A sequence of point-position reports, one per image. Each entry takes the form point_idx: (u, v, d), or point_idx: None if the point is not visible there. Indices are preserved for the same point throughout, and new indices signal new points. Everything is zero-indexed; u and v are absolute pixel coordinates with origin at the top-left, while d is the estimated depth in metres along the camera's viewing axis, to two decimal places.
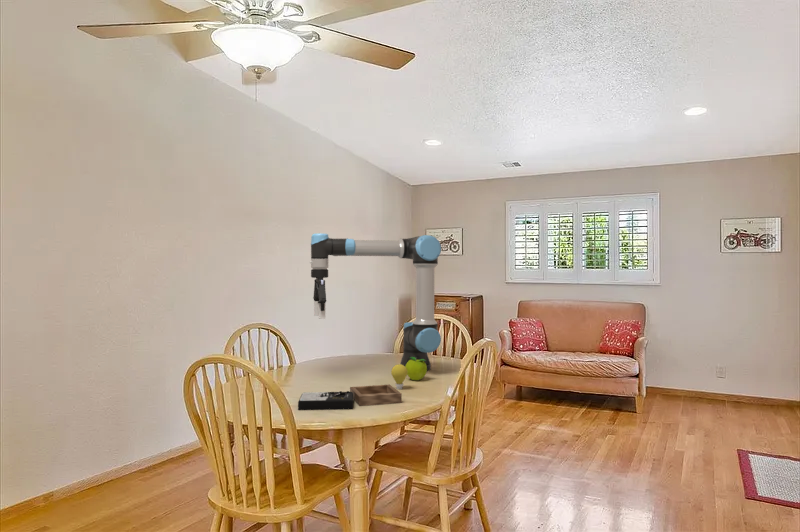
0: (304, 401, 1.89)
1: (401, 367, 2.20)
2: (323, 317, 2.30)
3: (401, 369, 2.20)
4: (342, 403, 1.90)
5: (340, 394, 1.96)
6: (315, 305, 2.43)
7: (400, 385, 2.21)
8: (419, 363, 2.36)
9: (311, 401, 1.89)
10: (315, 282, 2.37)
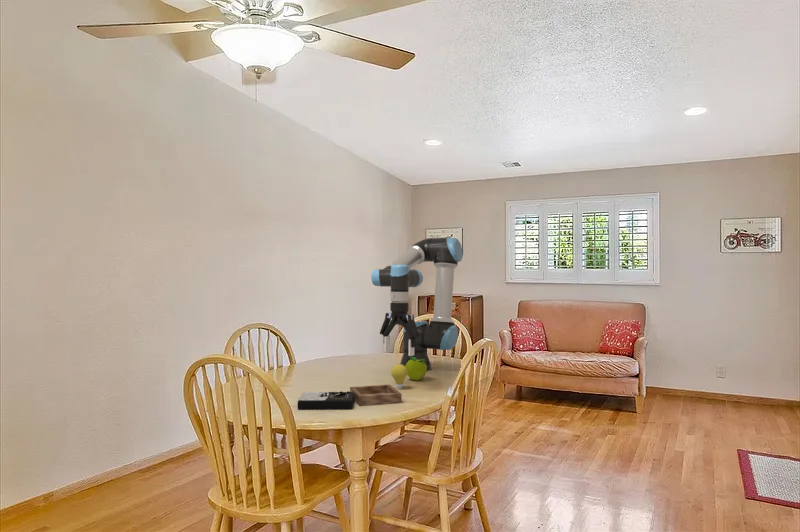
0: (303, 401, 1.90)
1: (401, 367, 2.20)
2: (413, 354, 2.17)
3: (401, 369, 2.20)
4: (341, 403, 1.90)
5: (340, 394, 1.96)
6: (386, 341, 2.26)
7: (400, 385, 2.21)
8: (419, 363, 2.36)
9: (310, 401, 1.90)
10: (395, 316, 2.21)
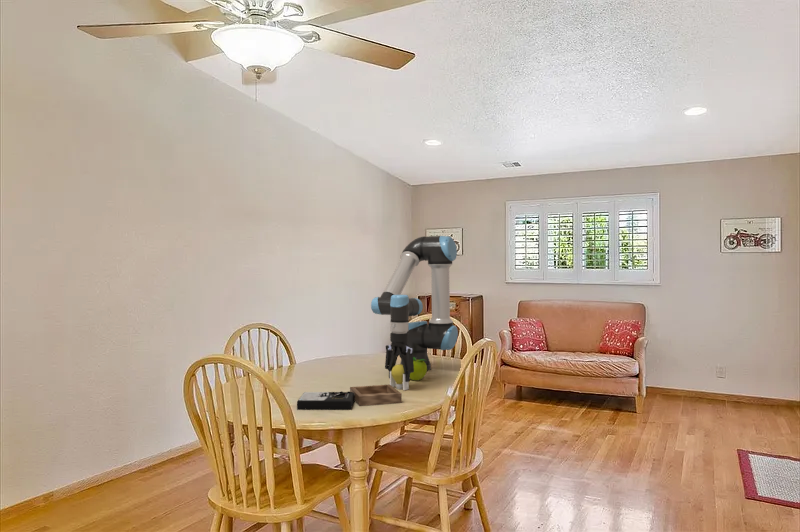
0: (303, 401, 1.90)
1: (401, 367, 2.20)
2: (407, 388, 2.20)
3: (401, 369, 2.20)
4: (340, 403, 1.89)
5: (340, 394, 1.96)
6: (391, 376, 2.24)
7: (400, 385, 2.21)
8: (419, 363, 2.36)
9: (310, 401, 1.90)
10: (394, 346, 2.21)
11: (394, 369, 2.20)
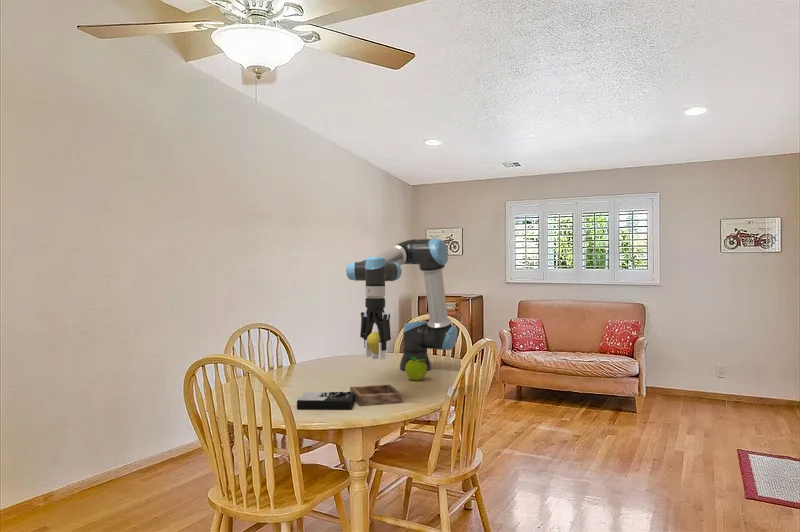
0: (303, 401, 1.90)
1: (377, 335, 2.03)
2: (383, 357, 2.02)
3: (377, 337, 2.02)
4: (340, 403, 1.89)
5: (340, 394, 1.96)
6: (367, 345, 2.06)
7: (376, 354, 2.03)
8: (419, 363, 2.36)
9: (309, 401, 1.90)
10: (370, 313, 2.04)
11: (369, 337, 2.03)
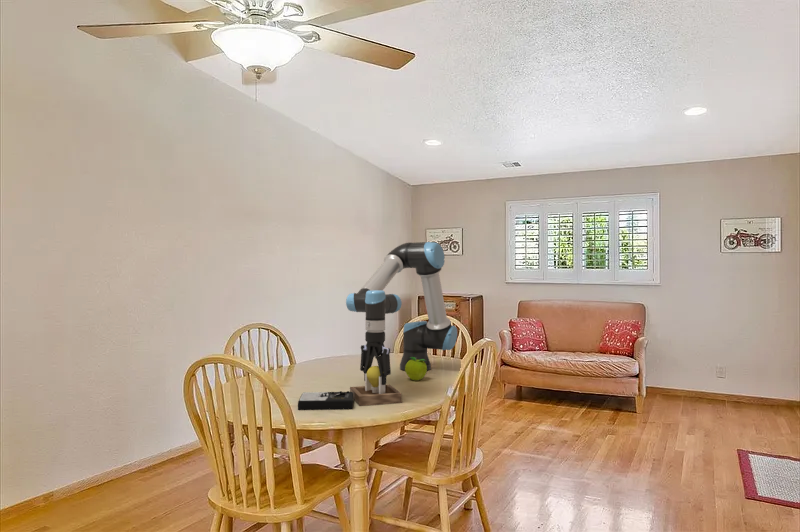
0: (304, 401, 1.89)
1: (377, 369, 2.03)
2: (383, 392, 2.02)
3: (377, 371, 2.02)
4: (341, 403, 1.90)
5: (340, 394, 1.96)
6: (367, 378, 2.06)
7: (376, 388, 2.03)
8: (419, 363, 2.36)
9: (311, 401, 1.89)
10: (370, 346, 2.04)
11: (369, 371, 2.03)
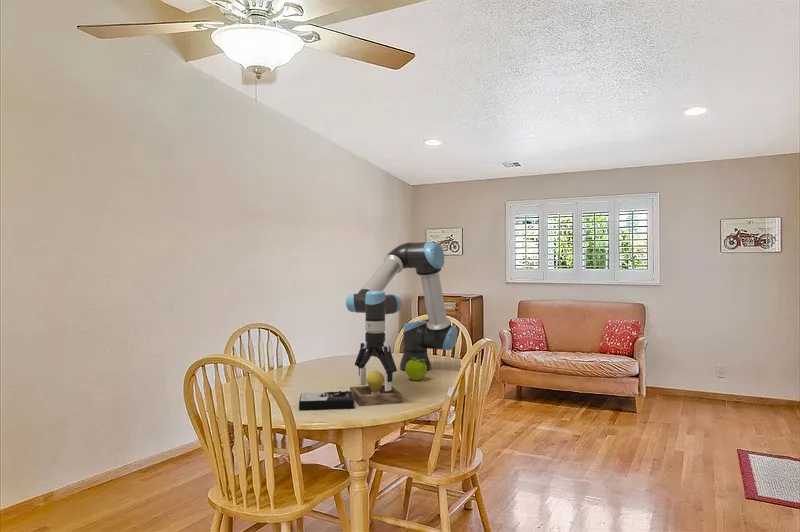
0: (305, 401, 1.89)
1: (377, 374, 2.02)
2: (389, 389, 2.00)
3: (377, 376, 2.02)
4: (343, 402, 1.90)
5: (340, 394, 1.97)
6: (361, 373, 2.08)
7: None
8: (419, 363, 2.36)
9: (312, 401, 1.89)
10: (370, 348, 2.04)
11: (369, 376, 2.03)
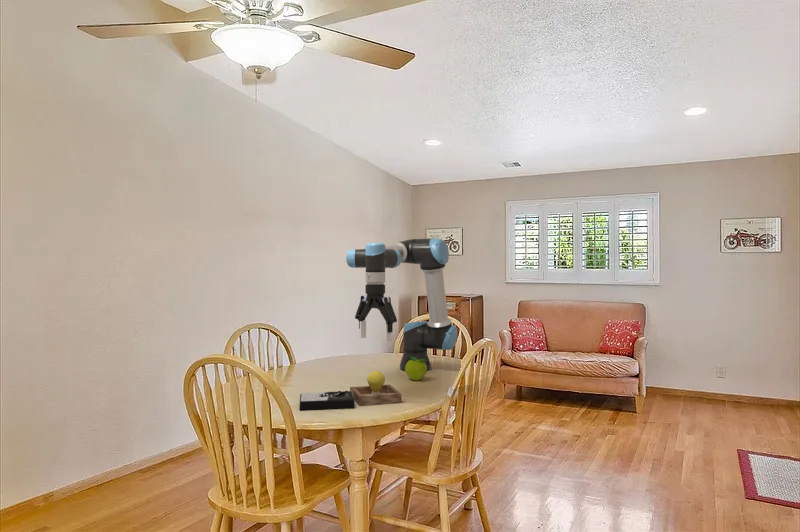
0: (306, 402, 1.89)
1: (378, 374, 2.03)
2: (389, 340, 2.00)
3: (378, 376, 2.02)
4: (343, 402, 1.91)
5: (340, 394, 1.97)
6: (362, 326, 2.08)
7: None
8: (419, 363, 2.36)
9: (313, 401, 1.89)
10: (370, 299, 2.04)
11: (370, 376, 2.03)
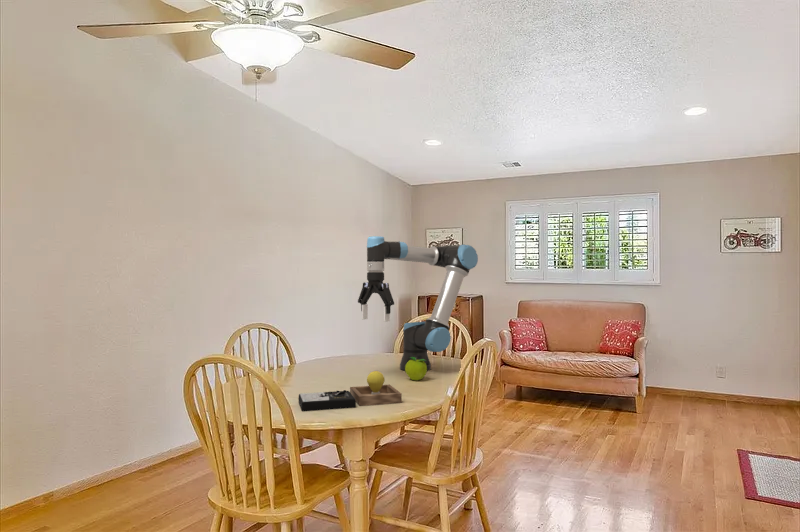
0: (308, 402, 1.88)
1: (377, 374, 2.03)
2: (388, 320, 2.31)
3: (377, 376, 2.02)
4: (345, 401, 1.92)
5: (340, 393, 1.97)
6: (364, 309, 2.39)
7: None
8: (419, 363, 2.36)
9: (315, 401, 1.89)
10: (371, 285, 2.35)
11: (370, 376, 2.03)
